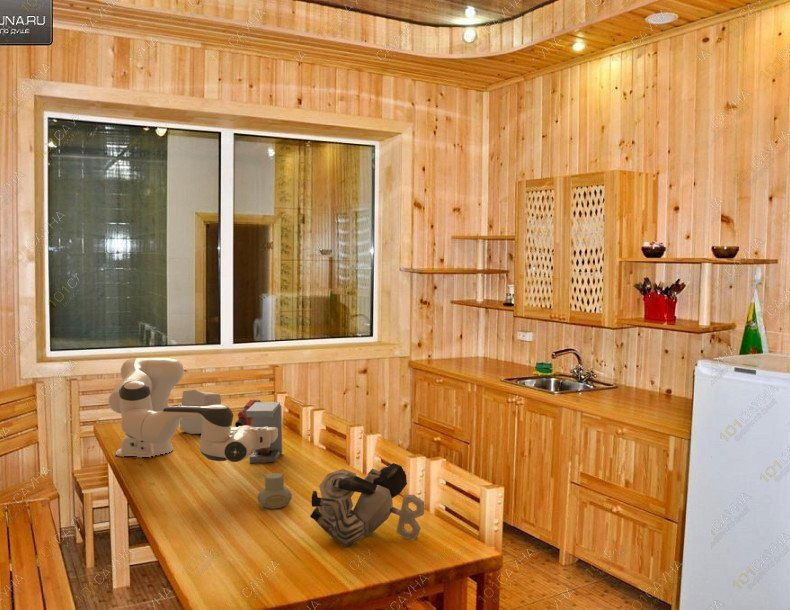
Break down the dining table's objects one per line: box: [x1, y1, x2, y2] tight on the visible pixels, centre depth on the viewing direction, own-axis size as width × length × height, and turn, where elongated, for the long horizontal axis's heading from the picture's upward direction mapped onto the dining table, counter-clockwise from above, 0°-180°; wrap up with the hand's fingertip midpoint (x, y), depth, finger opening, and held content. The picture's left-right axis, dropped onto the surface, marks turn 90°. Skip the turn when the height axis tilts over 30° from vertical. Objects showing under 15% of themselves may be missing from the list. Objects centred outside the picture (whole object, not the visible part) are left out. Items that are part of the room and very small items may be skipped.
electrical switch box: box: [179, 389, 222, 435], centre depth 340 cm, size 15×15×20 cm
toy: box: [309, 462, 425, 548], centre depth 212 cm, size 21×31×30 cm
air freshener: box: [256, 472, 293, 510], centre depth 237 cm, size 11×8×10 cm
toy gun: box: [234, 398, 262, 427], centre depth 330 cm, size 4×20×15 cm, turn 163°
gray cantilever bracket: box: [246, 401, 284, 455], centre depth 290 cm, size 11×16×21 cm
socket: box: [249, 450, 281, 464], centre depth 291 cm, size 10×10×2 cm
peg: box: [260, 447, 270, 455], centre depth 290 cm, size 4×4×12 cm
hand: (253, 428), depth 274 cm, fingers open, 8 cm apart
